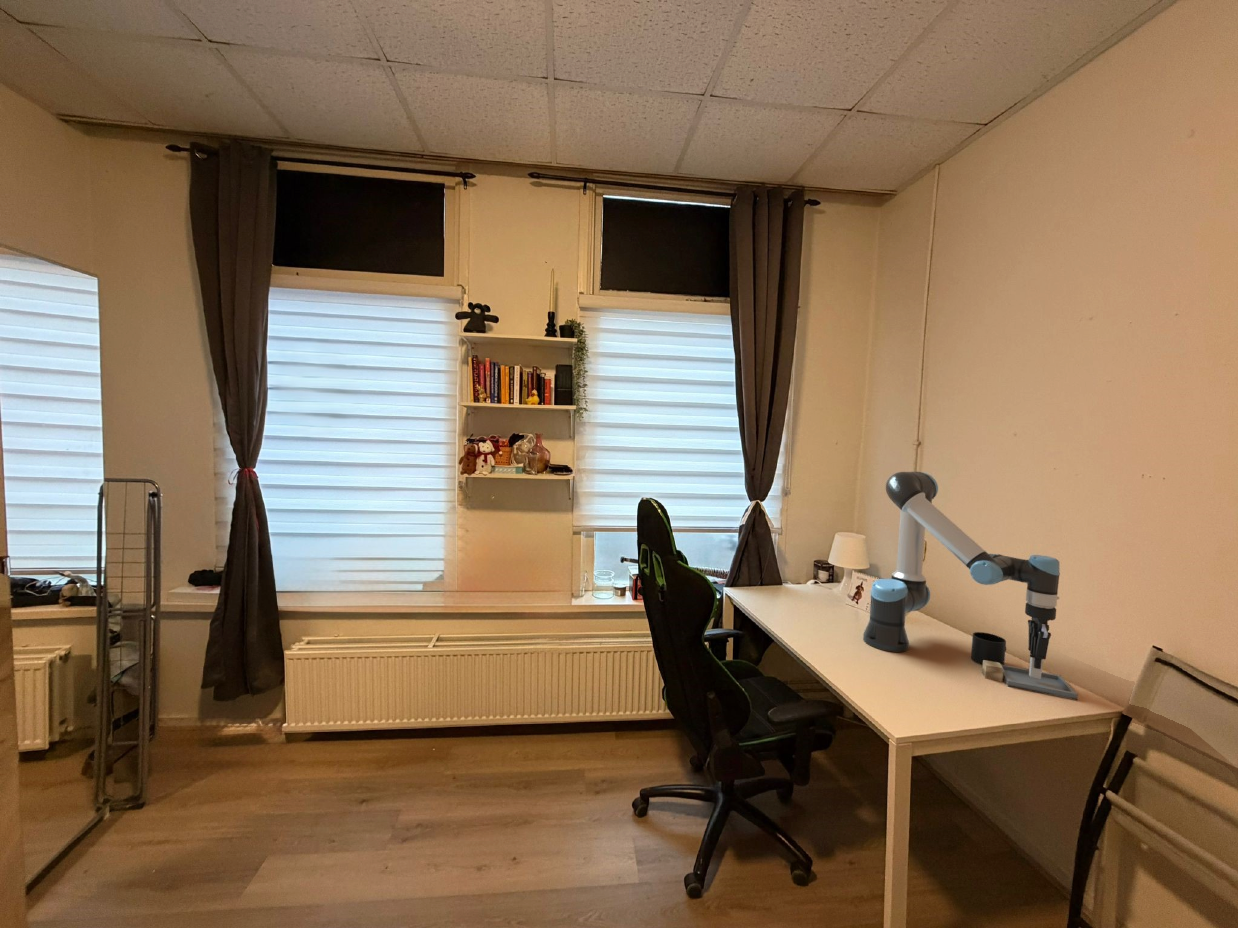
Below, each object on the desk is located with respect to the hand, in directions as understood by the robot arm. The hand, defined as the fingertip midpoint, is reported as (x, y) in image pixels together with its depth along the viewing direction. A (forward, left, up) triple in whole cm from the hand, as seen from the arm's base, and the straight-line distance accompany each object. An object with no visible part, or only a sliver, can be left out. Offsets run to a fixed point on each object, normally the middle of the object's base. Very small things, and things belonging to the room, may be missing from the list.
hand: (1034, 676), depth 161 cm
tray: (0, 0, -2) cm, 2 cm away
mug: (-9, +13, -3) cm, 16 cm away
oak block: (-12, -1, -2) cm, 12 cm away
